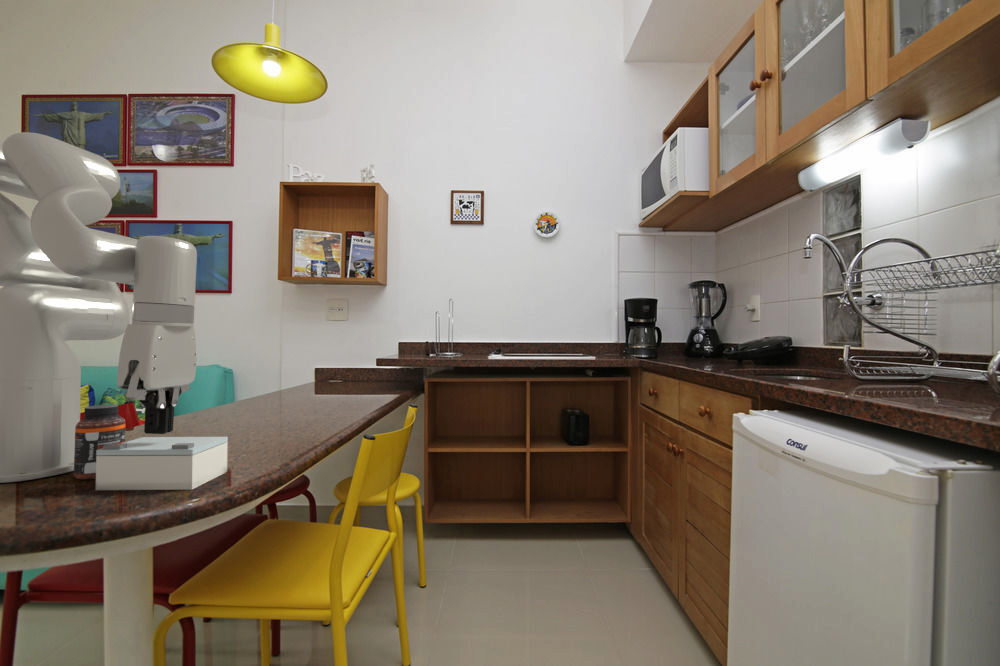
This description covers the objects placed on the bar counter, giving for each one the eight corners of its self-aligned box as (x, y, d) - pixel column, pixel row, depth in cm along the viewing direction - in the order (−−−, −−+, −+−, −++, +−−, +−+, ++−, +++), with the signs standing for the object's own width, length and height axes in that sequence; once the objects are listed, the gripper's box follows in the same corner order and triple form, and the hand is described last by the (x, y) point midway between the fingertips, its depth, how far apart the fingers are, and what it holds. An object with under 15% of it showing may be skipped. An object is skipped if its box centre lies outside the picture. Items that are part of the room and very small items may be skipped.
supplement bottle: (99, 481, 63) (100, 409, 63) (62, 481, 63) (63, 409, 64) (134, 469, 69) (135, 403, 69) (100, 468, 69) (101, 403, 70)
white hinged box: (95, 490, 59) (96, 456, 60) (142, 472, 67) (142, 442, 68) (192, 489, 60) (192, 455, 60) (227, 471, 68) (227, 442, 68)
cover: (96, 455, 60) (96, 445, 60) (142, 441, 68) (143, 433, 68) (192, 454, 60) (192, 445, 60) (227, 441, 68) (227, 433, 68)
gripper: (176, 317, 71) (171, 421, 71) (93, 312, 56) (86, 444, 56) (220, 319, 71) (215, 423, 71) (148, 315, 56) (142, 446, 56)
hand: (158, 432), depth 63 cm, fingers closed
